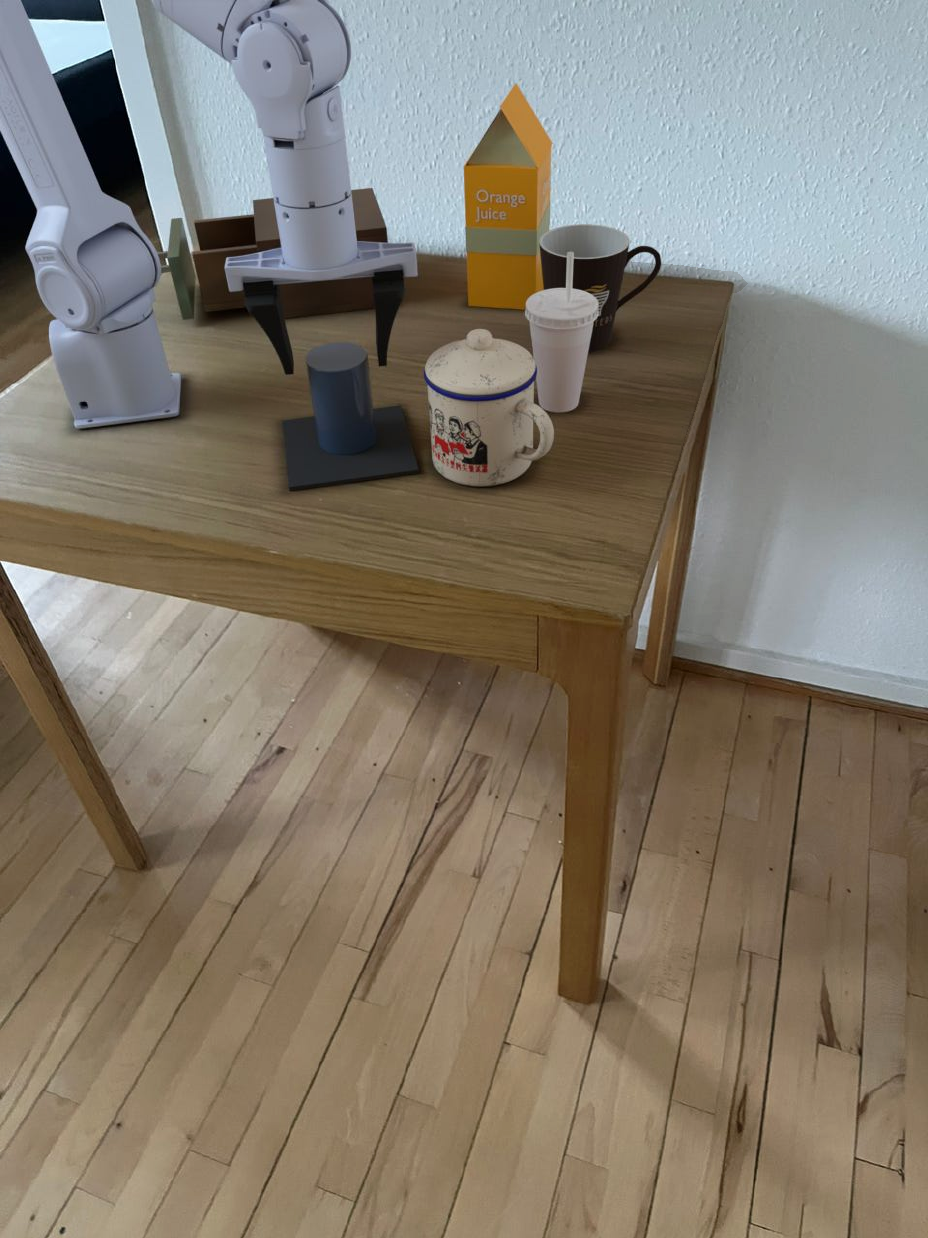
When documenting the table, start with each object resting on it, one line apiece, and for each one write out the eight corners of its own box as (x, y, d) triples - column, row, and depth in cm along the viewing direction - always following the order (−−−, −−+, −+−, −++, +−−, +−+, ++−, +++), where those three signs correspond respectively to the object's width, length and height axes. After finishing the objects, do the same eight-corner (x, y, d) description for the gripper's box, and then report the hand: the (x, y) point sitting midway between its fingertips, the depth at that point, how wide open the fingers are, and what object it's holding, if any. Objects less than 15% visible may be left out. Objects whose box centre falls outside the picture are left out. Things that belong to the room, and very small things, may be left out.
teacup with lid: (408, 463, 82) (396, 336, 74) (479, 420, 87) (476, 297, 79) (512, 517, 76) (512, 386, 68) (583, 468, 80) (591, 340, 72)
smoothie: (589, 422, 86) (598, 269, 76) (519, 417, 87) (519, 266, 77) (596, 387, 90) (606, 239, 81) (529, 382, 91) (531, 236, 82)
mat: (289, 491, 80) (288, 487, 79) (283, 424, 88) (282, 420, 87) (419, 473, 81) (418, 469, 80) (401, 408, 89) (400, 404, 88)
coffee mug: (530, 354, 96) (531, 255, 89) (545, 316, 102) (547, 221, 95) (646, 364, 93) (657, 263, 87) (655, 325, 99) (665, 228, 93)
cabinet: (270, 320, 104) (255, 241, 98) (266, 274, 113) (252, 199, 107) (393, 305, 105) (386, 227, 99) (379, 261, 114) (372, 187, 109)
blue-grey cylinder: (315, 428, 86) (302, 346, 81) (372, 420, 87) (362, 338, 81) (322, 459, 82) (308, 375, 77) (381, 450, 83) (372, 366, 78)
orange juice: (466, 305, 104) (459, 105, 91) (483, 273, 111) (479, 81, 97) (537, 310, 103) (540, 107, 89) (550, 276, 109) (555, 82, 96)
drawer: (141, 324, 102) (124, 262, 97) (147, 282, 110) (131, 222, 106) (298, 306, 104) (288, 244, 99) (292, 266, 112) (283, 206, 108)
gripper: (407, 169, 73) (418, 335, 82) (216, 184, 72) (250, 349, 81) (414, 201, 68) (426, 374, 77) (209, 217, 67) (246, 390, 76)
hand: (336, 364), depth 79 cm, fingers open, 7 cm apart
